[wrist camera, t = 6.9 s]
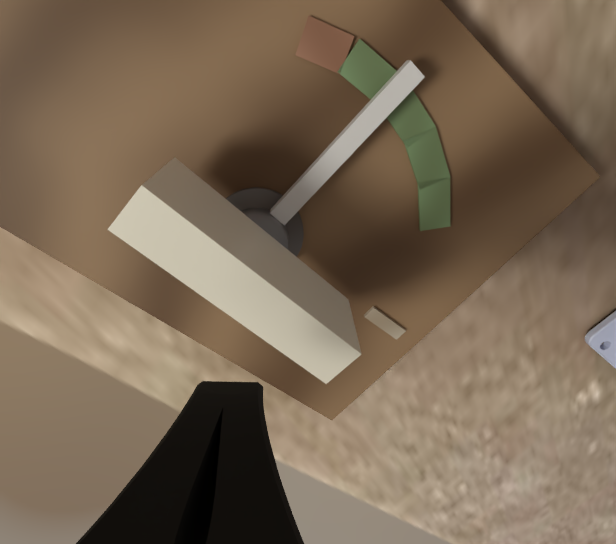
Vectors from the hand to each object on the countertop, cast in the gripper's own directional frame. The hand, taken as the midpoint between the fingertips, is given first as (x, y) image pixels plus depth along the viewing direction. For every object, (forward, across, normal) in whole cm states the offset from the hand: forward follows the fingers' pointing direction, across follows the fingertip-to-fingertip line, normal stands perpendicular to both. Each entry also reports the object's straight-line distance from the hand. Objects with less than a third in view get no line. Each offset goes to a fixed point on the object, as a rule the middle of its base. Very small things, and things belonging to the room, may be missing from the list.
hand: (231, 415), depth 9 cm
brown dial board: (+10, 0, -3) cm, 10 cm away
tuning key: (+8, -2, -4) cm, 9 cm away
